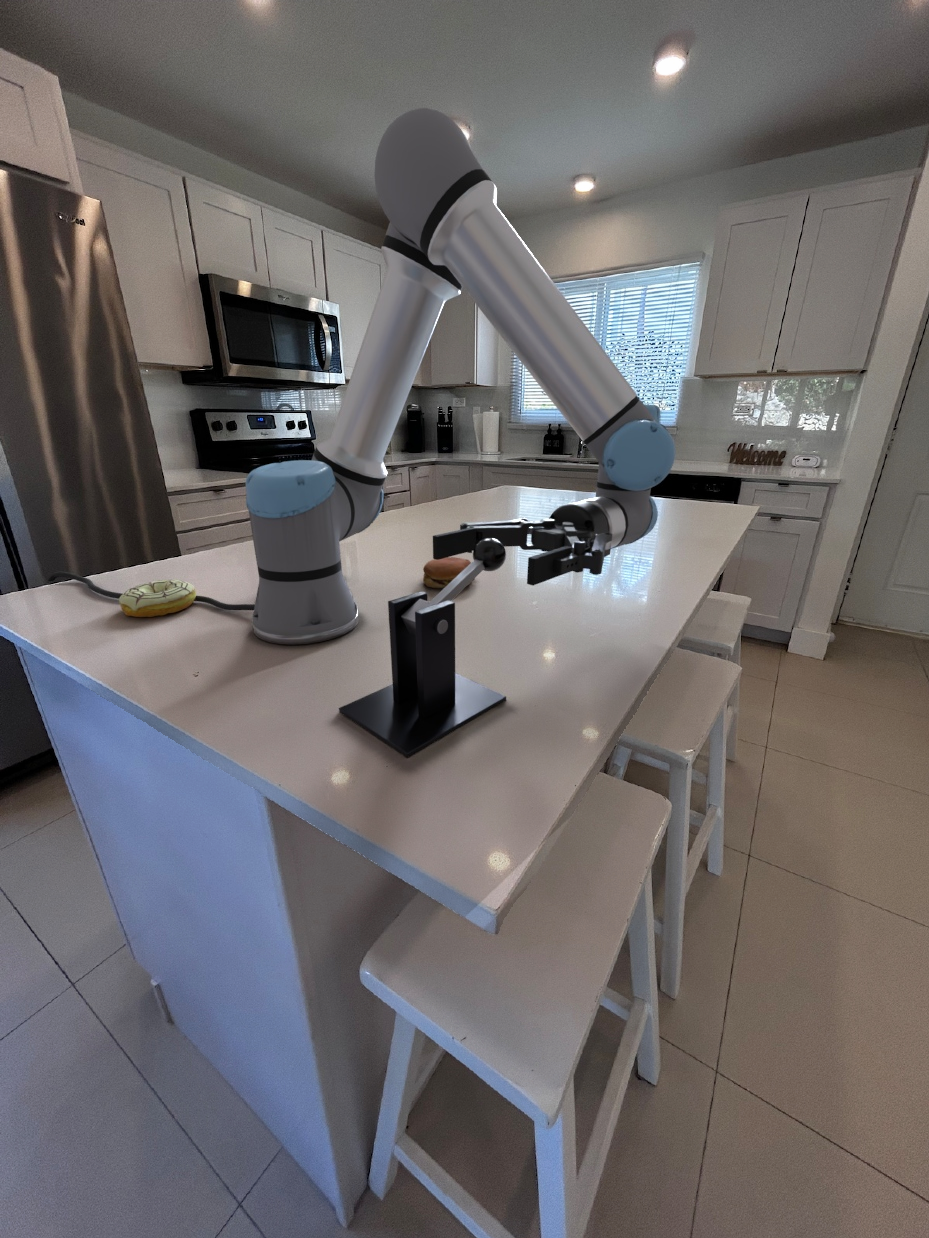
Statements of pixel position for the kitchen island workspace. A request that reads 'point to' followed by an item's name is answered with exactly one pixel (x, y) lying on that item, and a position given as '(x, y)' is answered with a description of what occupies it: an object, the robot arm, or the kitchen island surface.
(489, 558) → the lever handle
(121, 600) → the decorated donut
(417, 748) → the black stand
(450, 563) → the burger
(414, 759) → the kitchen island surface
